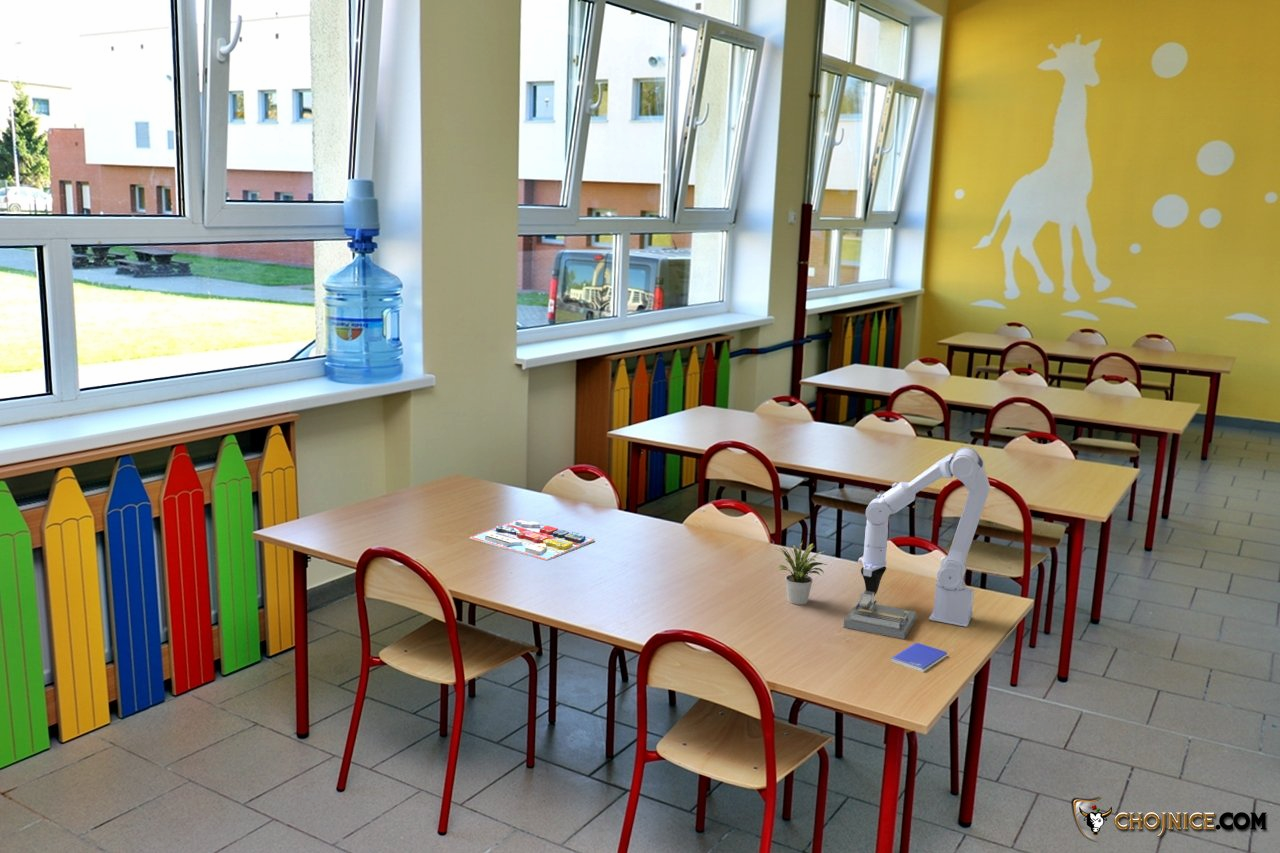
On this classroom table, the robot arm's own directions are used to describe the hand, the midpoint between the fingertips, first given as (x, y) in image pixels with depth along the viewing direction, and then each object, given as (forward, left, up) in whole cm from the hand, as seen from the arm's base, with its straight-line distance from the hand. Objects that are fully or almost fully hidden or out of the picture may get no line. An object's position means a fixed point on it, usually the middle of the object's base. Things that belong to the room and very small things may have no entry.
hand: (871, 594), depth 286 cm
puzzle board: (+104, -1, -4) cm, 104 cm away
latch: (0, +6, -1) cm, 6 cm away
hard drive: (-18, +27, -4) cm, 33 cm away
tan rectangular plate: (-5, +12, -1) cm, 13 cm away
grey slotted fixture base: (-5, +11, -3) cm, 12 cm away
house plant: (+18, +8, -3) cm, 20 cm away
